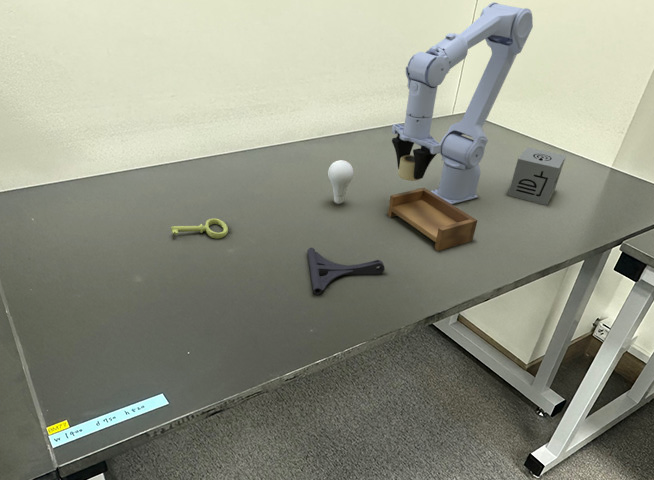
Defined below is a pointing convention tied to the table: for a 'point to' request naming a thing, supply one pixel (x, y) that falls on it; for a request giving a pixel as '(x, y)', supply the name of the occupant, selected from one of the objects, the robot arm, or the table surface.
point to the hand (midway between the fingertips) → (410, 173)
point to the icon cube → (536, 175)
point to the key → (203, 228)
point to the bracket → (336, 270)
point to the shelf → (433, 217)
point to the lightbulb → (340, 179)
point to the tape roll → (407, 168)
